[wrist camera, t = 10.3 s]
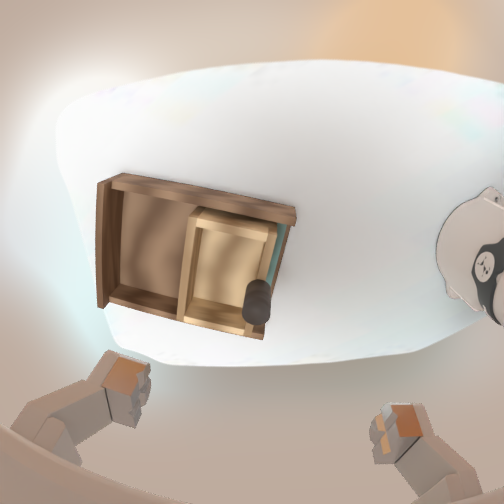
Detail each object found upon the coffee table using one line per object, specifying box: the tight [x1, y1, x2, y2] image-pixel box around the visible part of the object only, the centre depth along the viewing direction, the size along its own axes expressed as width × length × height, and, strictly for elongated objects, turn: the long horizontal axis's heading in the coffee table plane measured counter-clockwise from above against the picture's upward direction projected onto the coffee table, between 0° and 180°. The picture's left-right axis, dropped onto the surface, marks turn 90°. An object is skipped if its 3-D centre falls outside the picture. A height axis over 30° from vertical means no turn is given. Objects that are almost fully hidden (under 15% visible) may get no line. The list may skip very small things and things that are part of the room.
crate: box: [176, 205, 277, 337], centre depth 38 cm, size 11×14×11 cm
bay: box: [95, 173, 297, 340], centre depth 41 cm, size 24×18×7 cm
